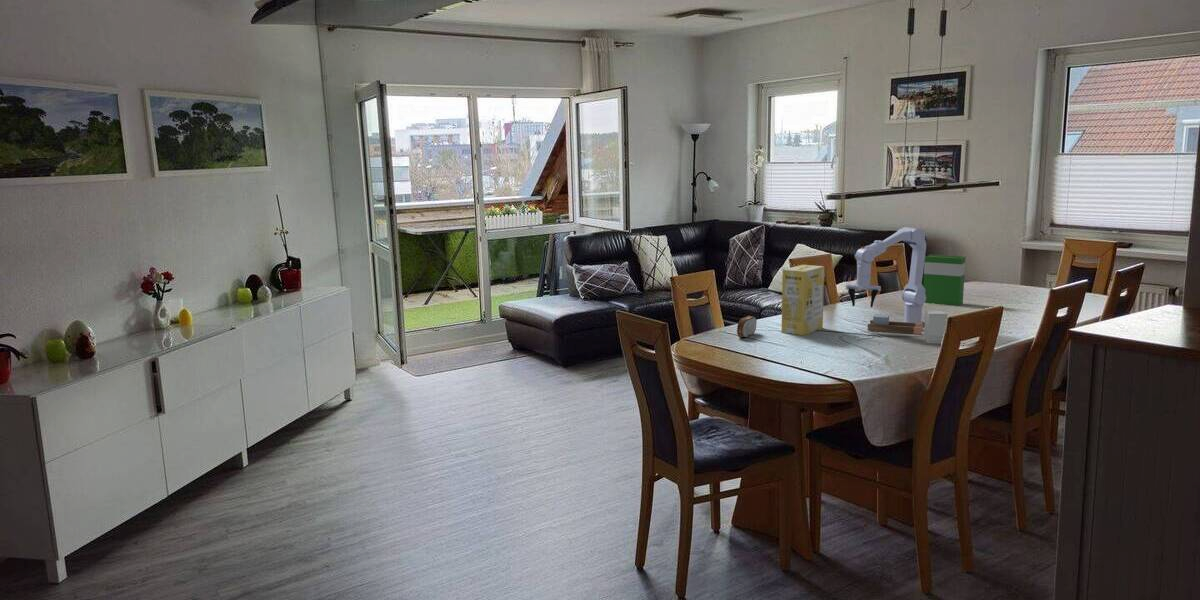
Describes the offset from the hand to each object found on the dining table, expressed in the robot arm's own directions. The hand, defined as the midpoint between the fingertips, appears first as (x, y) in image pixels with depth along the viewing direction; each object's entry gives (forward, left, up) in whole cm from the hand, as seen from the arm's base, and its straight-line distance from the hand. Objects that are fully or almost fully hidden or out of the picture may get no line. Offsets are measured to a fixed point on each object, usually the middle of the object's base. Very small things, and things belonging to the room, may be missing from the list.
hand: (862, 306), depth 358 cm
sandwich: (+29, -44, -11) cm, 54 cm away
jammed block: (-2, +8, -10) cm, 13 cm away
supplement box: (+14, +31, -11) cm, 35 cm away
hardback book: (-74, +30, -11) cm, 81 cm away
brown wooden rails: (-2, +14, -10) cm, 17 cm away
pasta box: (+10, -24, -11) cm, 28 cm away
